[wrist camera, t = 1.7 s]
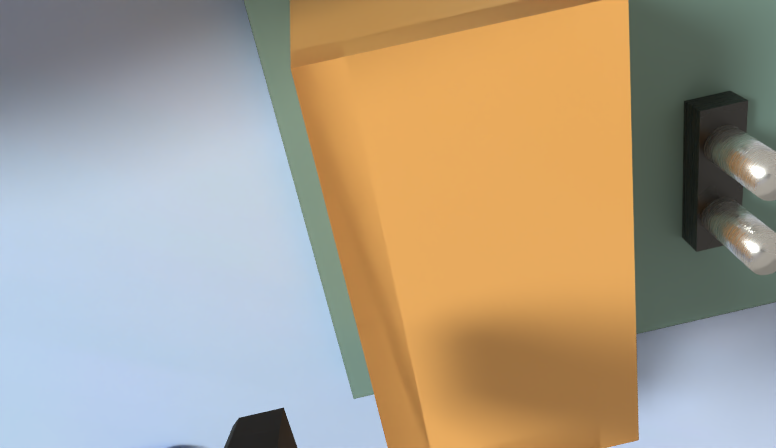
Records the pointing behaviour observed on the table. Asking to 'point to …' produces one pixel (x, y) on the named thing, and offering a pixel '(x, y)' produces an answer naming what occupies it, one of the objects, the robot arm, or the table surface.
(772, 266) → the twin bulb fixture
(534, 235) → the block
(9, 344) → the table surface
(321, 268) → the board
